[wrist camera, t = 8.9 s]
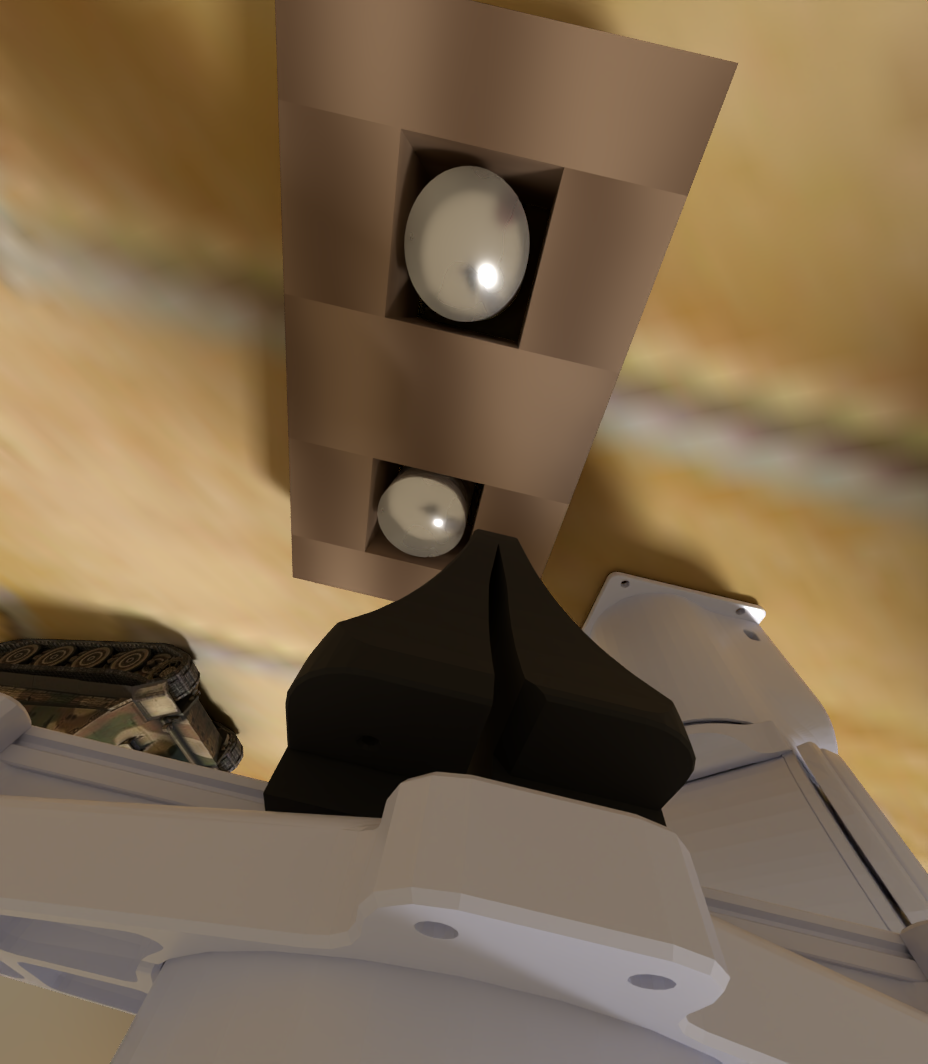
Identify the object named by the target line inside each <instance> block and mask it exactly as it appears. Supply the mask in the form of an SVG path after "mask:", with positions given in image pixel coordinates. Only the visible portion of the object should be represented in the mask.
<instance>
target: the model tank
mask: <svg viewBox="0 0 928 1064" xmlns="http://www.w3.org/2000/svg"><path fill="white" fill-rule="evenodd" d="M199 678H200V673H199V671H198V669H197V668H196V666H195V664H194V663H193V661H192V659H191V657H190V656H189V654H187V653H185V652H183V651H182V650H180V649H178V648H176V647H174V646H173V645H170V644H165V643H143V642H114V641H85V640H56V639H20V640H13V641H8V642H3V643H0V693H3V694H6V695H8V696H11V697H12V698H14V699H15V700H17V701H18V702H20V703H21V704H22V706H23V707H24V708H25V709H26V711H27V712H28V714H29V717H30V719H31V725H33V726H37V727H41V728H45V729H49V730H54V731H58V732H62V733H66V734H70V735H74V736H79V737H83V738H87V739H91V740H95V741H99V742H104V743H108V744H112V745H116V746H120V747H124V748H129V749H133V750H137V751H141V752H145V753H149V754H154V755H158V756H162V757H166V758H170V759H174V760H179V761H183V762H187V763H191V764H195V765H199V766H204V767H208V768H212V769H216V770H220V771H224V772H229V773H230V772H231V771H233V770H234V769H235V768H237V766H238V764H239V763H240V761H241V759H242V758H243V746H242V745H241V743H240V741H239V739H238V738H237V736H236V734H235V733H234V732H233V731H231V730H230V729H228V728H227V727H225V726H223V725H222V724H220V723H219V722H216V721H211V719H210V717H209V716H208V714H207V712H206V711H205V709H204V708H203V706H202V704H201V703H200V701H199V700H198V699H199V696H200V694H201V693H200V691H198V683H199ZM197 691H198V692H199V695H198V696H196V695H197V693H198V692H197ZM196 692H197V693H196ZM195 693H196V694H195Z"/></svg>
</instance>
